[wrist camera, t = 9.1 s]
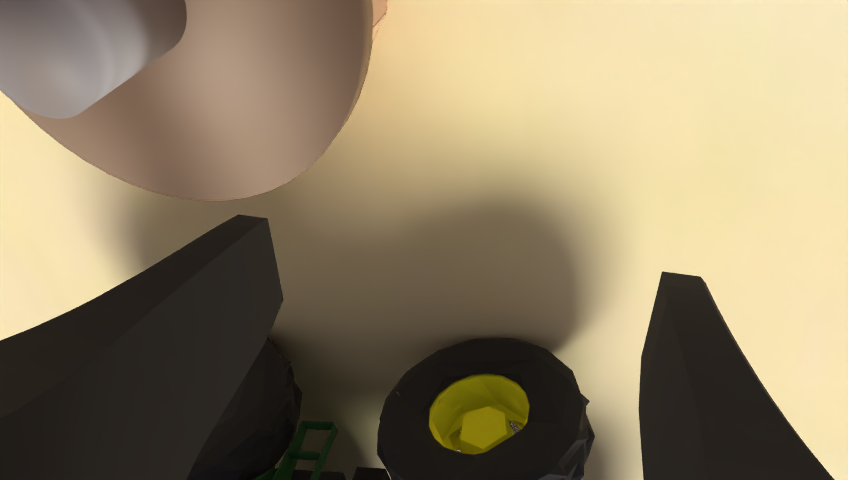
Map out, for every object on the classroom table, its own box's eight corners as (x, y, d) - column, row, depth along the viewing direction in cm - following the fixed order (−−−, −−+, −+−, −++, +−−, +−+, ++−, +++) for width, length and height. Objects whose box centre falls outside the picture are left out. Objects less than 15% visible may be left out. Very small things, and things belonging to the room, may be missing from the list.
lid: (321, -355, 12) (198, -383, 9) (401, 194, 19) (350, 298, 16) (-162, -270, 15) (-393, -267, 12) (56, 178, 22) (-51, 262, 19)
